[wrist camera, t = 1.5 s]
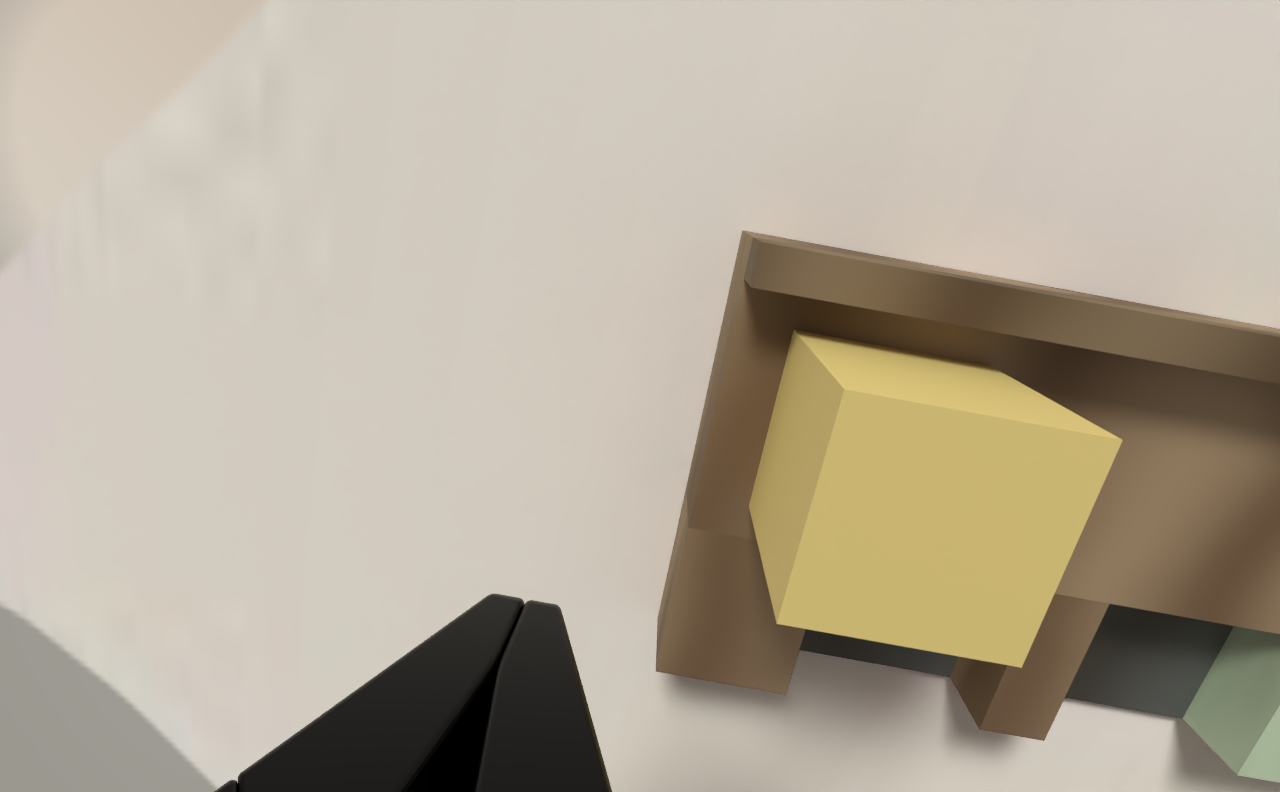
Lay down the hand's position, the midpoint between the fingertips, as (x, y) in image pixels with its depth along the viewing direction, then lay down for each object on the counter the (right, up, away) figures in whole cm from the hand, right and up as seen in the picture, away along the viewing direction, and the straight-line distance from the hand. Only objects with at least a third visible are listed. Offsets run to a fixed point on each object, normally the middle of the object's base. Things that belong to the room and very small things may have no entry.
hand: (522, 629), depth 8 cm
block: (+7, +2, +9) cm, 12 cm away
